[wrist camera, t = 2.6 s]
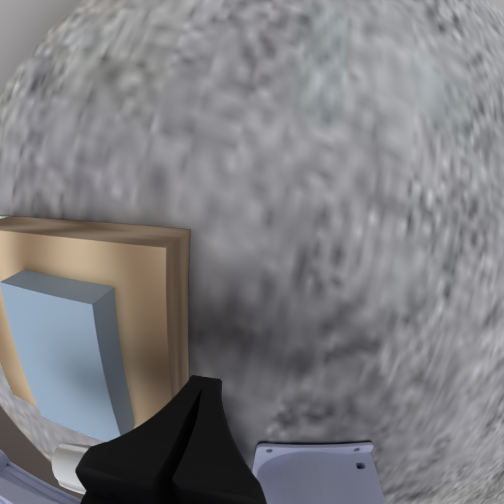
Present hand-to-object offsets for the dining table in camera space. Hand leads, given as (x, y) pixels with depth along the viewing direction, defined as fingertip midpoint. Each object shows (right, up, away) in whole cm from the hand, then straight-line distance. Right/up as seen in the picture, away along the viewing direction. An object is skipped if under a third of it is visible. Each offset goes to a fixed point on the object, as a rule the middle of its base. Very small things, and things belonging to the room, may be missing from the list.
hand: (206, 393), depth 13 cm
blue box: (-7, +1, +1) cm, 7 cm away
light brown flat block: (-9, +2, +5) cm, 10 cm away
